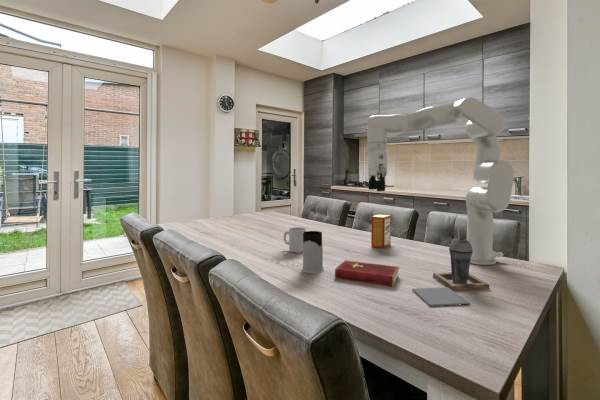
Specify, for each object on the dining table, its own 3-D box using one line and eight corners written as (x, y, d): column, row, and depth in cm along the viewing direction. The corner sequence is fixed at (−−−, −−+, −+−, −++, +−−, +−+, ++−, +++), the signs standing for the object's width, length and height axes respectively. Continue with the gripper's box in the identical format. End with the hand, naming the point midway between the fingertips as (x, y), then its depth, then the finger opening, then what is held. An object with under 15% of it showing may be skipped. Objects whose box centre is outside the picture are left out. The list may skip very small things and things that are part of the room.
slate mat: (447, 289, 102) (447, 287, 102) (469, 304, 90) (470, 302, 90) (412, 290, 101) (412, 288, 101) (429, 306, 89) (429, 304, 89)
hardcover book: (393, 288, 104) (393, 276, 104) (334, 279, 114) (334, 268, 113) (399, 277, 115) (399, 266, 114) (345, 269, 124) (345, 259, 124)
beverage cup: (474, 287, 103) (477, 228, 101) (451, 286, 104) (453, 227, 102) (467, 279, 110) (469, 224, 108) (445, 278, 111) (447, 223, 109)
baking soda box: (378, 243, 166) (378, 213, 164) (390, 244, 162) (390, 214, 160) (371, 246, 158) (371, 215, 157) (383, 248, 154) (384, 216, 153)
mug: (309, 249, 155) (308, 227, 154) (302, 253, 147) (301, 231, 146) (288, 247, 160) (287, 226, 159) (280, 251, 152) (279, 229, 151)
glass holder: (298, 272, 121) (298, 234, 119) (310, 261, 134) (309, 227, 133) (320, 274, 118) (320, 235, 116) (329, 263, 131) (329, 228, 130)
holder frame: (466, 275, 114) (466, 271, 114) (489, 288, 101) (489, 284, 101) (433, 277, 113) (433, 273, 113) (452, 290, 100) (452, 286, 100)
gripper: (394, 145, 115) (393, 191, 117) (378, 148, 132) (378, 188, 134) (374, 145, 114) (374, 191, 116) (361, 149, 132) (361, 189, 133)
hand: (376, 190), depth 125 cm, fingers open, 9 cm apart
